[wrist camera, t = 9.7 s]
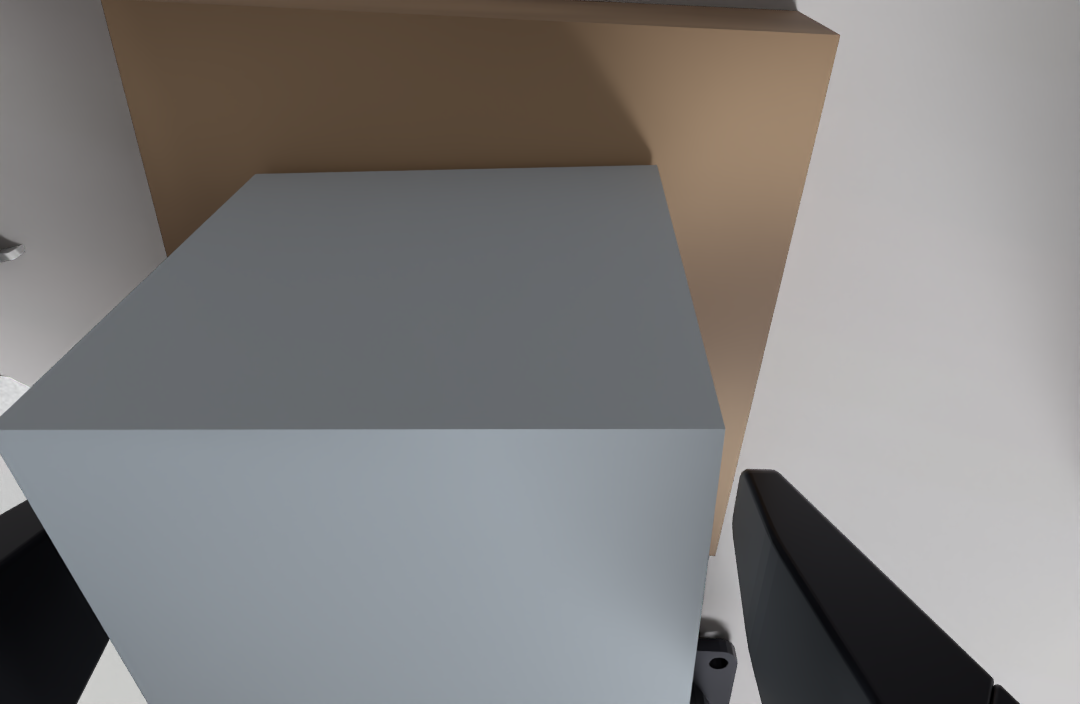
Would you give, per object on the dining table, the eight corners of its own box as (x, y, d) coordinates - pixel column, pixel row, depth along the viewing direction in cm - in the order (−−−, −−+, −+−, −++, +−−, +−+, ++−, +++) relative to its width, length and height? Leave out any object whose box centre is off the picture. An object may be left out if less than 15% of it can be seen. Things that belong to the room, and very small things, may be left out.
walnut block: (696, 460, 18) (715, 555, 15) (285, 434, 18) (236, 524, 15) (787, 5, 12) (839, 34, 10) (198, -23, 12) (99, -2, 10)
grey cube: (641, 471, 14) (676, 807, 9) (332, 470, 14) (201, 793, 9) (657, 165, 11) (726, 428, 6) (255, 174, 11) (-16, 429, 6)
